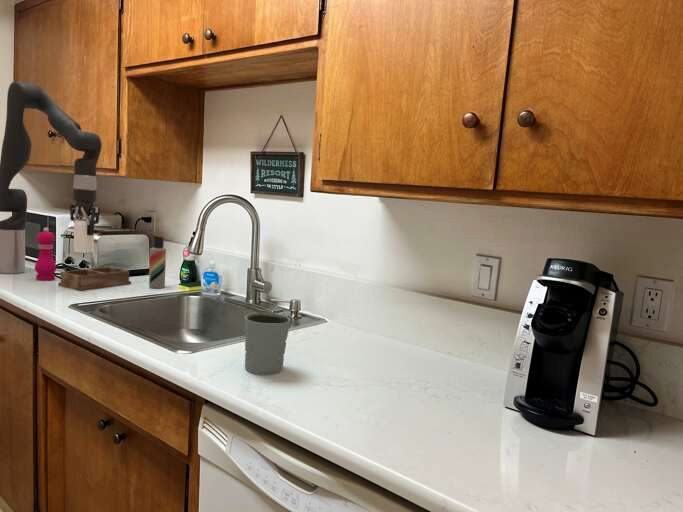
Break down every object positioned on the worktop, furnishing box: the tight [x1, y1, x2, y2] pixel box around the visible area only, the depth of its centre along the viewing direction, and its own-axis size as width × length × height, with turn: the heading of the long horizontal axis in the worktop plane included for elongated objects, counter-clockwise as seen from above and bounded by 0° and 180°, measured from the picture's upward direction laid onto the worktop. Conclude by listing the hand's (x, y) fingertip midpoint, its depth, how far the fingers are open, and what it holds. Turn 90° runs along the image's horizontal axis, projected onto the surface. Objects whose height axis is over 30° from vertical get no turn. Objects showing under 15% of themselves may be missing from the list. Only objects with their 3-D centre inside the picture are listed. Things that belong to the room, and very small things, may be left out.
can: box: [73, 218, 95, 254], centre depth 187 cm, size 6×6×12 cm
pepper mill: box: [34, 227, 57, 282], centre depth 195 cm, size 7×7×20 cm
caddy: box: [57, 266, 132, 292], centre depth 193 cm, size 13×21×5 cm, turn 151°
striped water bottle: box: [148, 235, 167, 290], centre depth 196 cm, size 6×6×20 cm
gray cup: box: [244, 312, 291, 376], centre depth 117 cm, size 10×10×12 cm
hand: (84, 234), depth 187 cm, fingers closed on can, 6 cm apart
